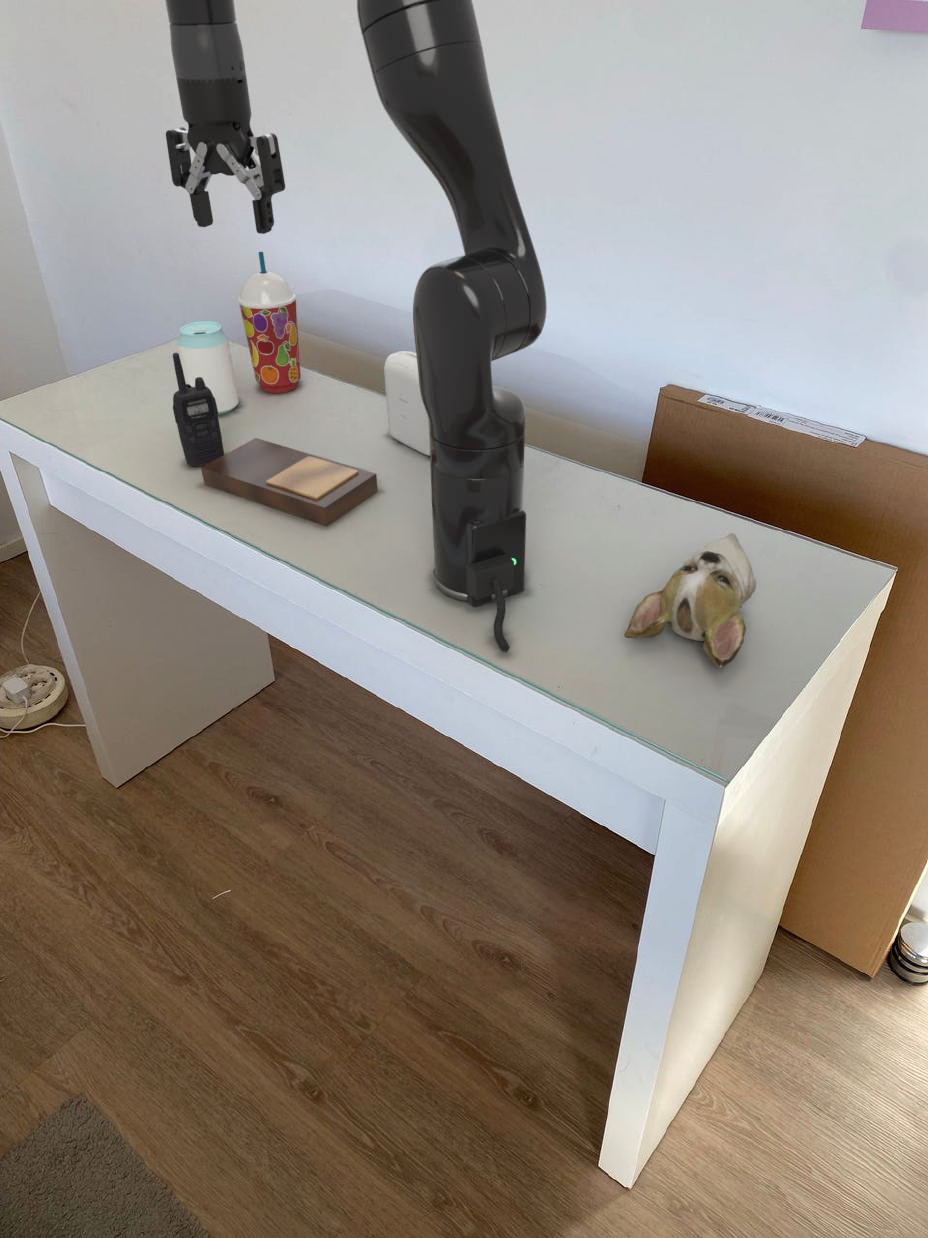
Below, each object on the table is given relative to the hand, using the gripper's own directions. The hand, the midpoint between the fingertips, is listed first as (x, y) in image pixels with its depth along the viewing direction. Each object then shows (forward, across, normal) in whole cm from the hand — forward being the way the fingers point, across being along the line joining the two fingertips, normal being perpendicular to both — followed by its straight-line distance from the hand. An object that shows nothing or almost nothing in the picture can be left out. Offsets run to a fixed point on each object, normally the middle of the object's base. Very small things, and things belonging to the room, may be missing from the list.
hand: (235, 228), depth 109 cm
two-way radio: (+28, -5, -8) cm, 29 cm away
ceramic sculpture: (+28, +64, -20) cm, 72 cm away
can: (+28, -14, +7) cm, 32 cm away
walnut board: (+28, +10, -10) cm, 31 cm away
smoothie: (+28, -9, +17) cm, 34 cm away
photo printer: (+28, +20, +7) cm, 35 cm away
